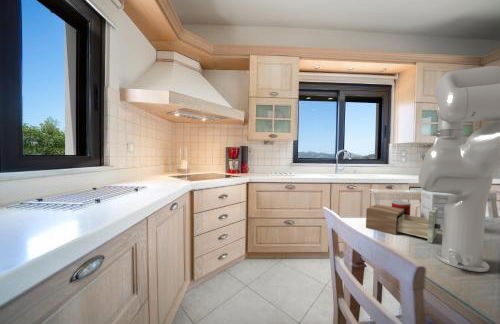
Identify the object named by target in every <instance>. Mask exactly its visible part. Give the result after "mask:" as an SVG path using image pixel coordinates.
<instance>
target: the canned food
mask: <svg viewBox="0 0 500 324" xmlns="http://www.w3.org/2000/svg"><path fill="white" fill-rule="evenodd" d="M391 207H396V208H402V209H404V215H410V216H411V203H410V201H409V202H408V201H404V200H396V199H395V200H392V201H391Z"/></svg>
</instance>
